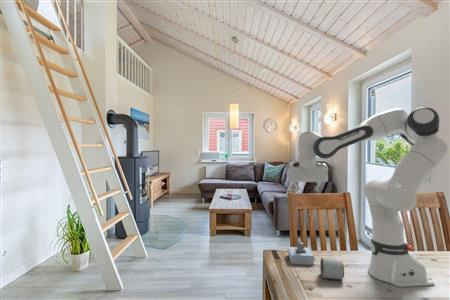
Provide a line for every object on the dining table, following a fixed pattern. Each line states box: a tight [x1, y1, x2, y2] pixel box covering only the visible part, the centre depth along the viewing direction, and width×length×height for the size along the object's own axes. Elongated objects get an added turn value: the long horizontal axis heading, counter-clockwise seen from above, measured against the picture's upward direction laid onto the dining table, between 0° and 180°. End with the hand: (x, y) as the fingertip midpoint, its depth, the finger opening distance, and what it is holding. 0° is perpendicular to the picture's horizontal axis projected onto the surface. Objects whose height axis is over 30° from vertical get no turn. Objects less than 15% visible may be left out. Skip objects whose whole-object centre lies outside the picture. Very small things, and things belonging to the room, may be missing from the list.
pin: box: [296, 241, 305, 253], centre depth 123 cm, size 3×3×8 cm
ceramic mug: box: [319, 257, 345, 280], centre depth 108 cm, size 11×8×8 cm
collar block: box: [287, 246, 315, 266], centre depth 124 cm, size 10×10×4 cm
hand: (306, 190), depth 133 cm, fingers open, 8 cm apart
